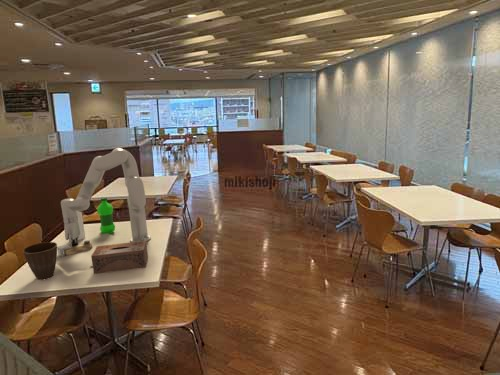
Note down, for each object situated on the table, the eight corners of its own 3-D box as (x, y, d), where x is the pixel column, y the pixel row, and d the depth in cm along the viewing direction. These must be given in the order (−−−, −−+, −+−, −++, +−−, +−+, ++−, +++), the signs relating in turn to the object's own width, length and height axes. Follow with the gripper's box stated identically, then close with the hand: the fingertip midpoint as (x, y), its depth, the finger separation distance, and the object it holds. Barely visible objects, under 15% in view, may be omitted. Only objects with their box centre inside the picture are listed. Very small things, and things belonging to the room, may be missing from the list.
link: (90, 246, 225) (89, 239, 224) (94, 247, 221) (92, 241, 220) (63, 253, 214) (62, 246, 213) (66, 256, 211) (65, 248, 210)
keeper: (71, 256, 213) (70, 246, 212) (61, 259, 209) (59, 249, 208) (69, 254, 217) (67, 244, 215) (58, 257, 213) (57, 246, 212)
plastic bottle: (97, 235, 249) (92, 199, 244) (107, 230, 259) (102, 195, 254) (109, 236, 246) (104, 199, 241) (119, 231, 256) (114, 196, 251)
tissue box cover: (93, 274, 188) (91, 256, 186) (99, 263, 202) (97, 246, 200) (145, 268, 192) (143, 249, 190) (148, 257, 206) (146, 240, 204)
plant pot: (66, 275, 188) (61, 245, 184) (34, 286, 177) (29, 255, 174) (55, 268, 198) (50, 240, 194) (24, 278, 187) (18, 248, 183)
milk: (76, 242, 237) (71, 209, 232) (72, 240, 241) (67, 208, 236) (86, 240, 241) (80, 207, 236) (82, 238, 245) (77, 206, 240)
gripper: (70, 216, 223) (75, 245, 227) (58, 224, 209) (63, 254, 213) (82, 215, 224) (87, 244, 227) (71, 223, 209) (76, 253, 213)
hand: (75, 249), depth 220 cm, fingers closed
